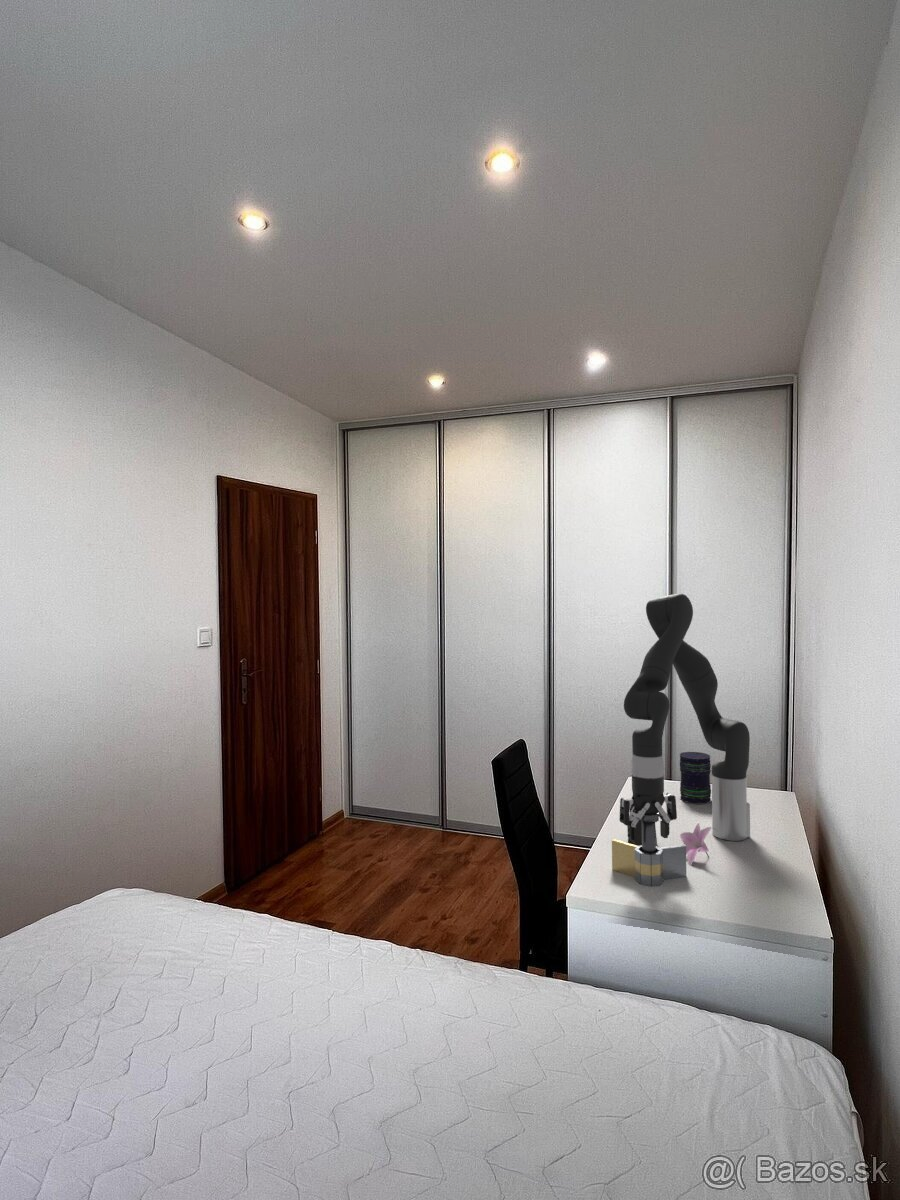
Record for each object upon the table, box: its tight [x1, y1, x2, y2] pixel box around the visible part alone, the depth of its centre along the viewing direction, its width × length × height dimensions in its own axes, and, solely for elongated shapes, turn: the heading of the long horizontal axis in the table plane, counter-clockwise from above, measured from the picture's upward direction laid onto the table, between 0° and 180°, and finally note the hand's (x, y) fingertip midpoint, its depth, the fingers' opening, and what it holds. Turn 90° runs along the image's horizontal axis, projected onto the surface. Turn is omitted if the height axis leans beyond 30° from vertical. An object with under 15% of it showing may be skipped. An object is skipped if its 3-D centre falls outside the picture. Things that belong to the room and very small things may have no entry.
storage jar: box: [679, 751, 712, 805], centre depth 227 cm, size 10×10×15 cm
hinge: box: [611, 838, 687, 887], centre depth 168 cm, size 15×12×8 cm
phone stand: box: [627, 804, 658, 846], centre depth 186 cm, size 9×6×12 cm, turn 150°
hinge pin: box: [640, 813, 660, 854], centre depth 164 cm, size 5×5×16 cm
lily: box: [679, 822, 712, 866], centre depth 177 cm, size 11×11×9 cm
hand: (648, 839), depth 164 cm, fingers open, 8 cm apart
